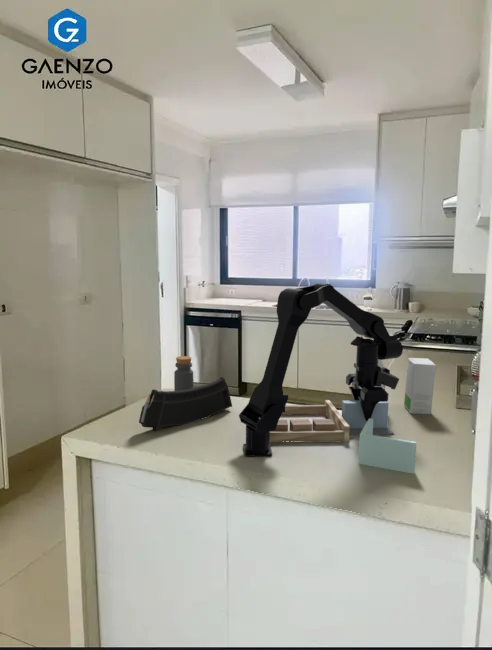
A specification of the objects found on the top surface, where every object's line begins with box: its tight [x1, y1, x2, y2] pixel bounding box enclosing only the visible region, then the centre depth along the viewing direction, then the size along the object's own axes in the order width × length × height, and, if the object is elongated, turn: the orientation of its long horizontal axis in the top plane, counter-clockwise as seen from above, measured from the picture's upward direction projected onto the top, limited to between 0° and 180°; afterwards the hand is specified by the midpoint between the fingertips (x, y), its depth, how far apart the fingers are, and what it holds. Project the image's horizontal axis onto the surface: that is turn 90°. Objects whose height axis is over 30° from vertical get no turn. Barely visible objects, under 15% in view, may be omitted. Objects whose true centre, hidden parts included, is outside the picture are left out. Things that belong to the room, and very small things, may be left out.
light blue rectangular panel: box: [341, 399, 389, 428], centre depth 131 cm, size 2×12×7 cm, turn 93°
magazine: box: [138, 376, 233, 432], centre depth 136 cm, size 17×3×30 cm
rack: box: [270, 399, 350, 443], centre depth 132 cm, size 22×23×4 cm
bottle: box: [173, 355, 194, 391], centre depth 150 cm, size 6×6×15 cm
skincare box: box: [403, 357, 437, 415], centre depth 147 cm, size 8×7×16 cm
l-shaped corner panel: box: [358, 418, 417, 474], centre depth 112 cm, size 12×12×8 cm
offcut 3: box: [312, 418, 336, 431], centre depth 125 cm, size 4×5×4 cm
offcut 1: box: [274, 418, 289, 431], centre depth 125 cm, size 4×5×4 cm
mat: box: [349, 426, 395, 436], centre depth 132 cm, size 10×13×1 cm
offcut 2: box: [288, 418, 313, 431], centre depth 125 cm, size 4×5×4 cm
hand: (364, 417), depth 131 cm, fingers open, 5 cm apart
